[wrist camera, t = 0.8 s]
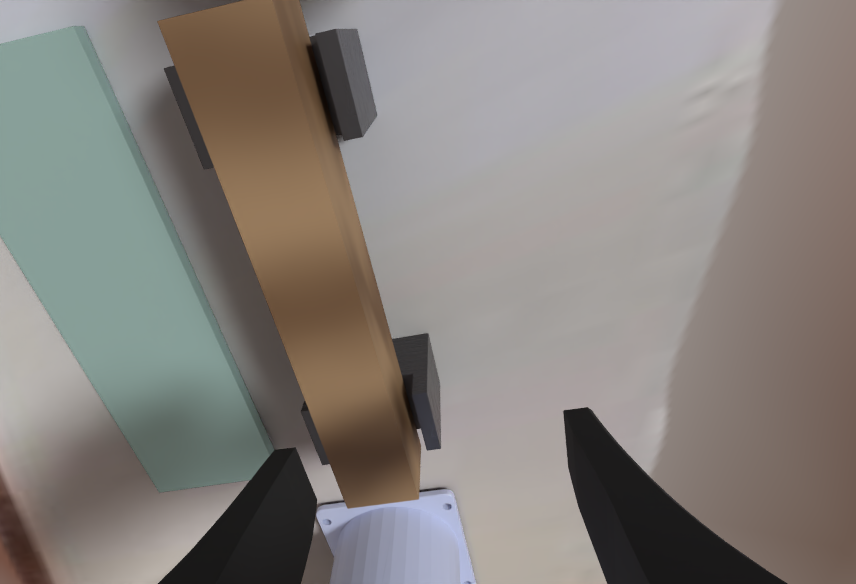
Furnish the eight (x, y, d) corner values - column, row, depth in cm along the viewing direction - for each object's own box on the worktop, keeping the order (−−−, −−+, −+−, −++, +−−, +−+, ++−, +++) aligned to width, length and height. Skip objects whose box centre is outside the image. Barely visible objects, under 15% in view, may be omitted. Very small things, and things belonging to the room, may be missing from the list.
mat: (282, 467, 28) (279, 475, 28) (164, 484, 29) (159, 492, 28) (83, 26, 18) (73, 26, 18) (-88, 67, 19) (-103, 69, 18)
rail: (420, 445, 23) (419, 499, 21) (357, 454, 24) (347, 508, 21) (299, -1, 15) (270, -6, 13) (204, 22, 16) (157, 21, 13)
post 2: (440, 383, 25) (440, 448, 21) (339, 399, 26) (322, 465, 22) (428, 333, 24) (426, 392, 20) (322, 350, 25) (300, 411, 21)
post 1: (377, 115, 20) (362, 136, 16) (249, 142, 20) (203, 169, 16) (357, 29, 18) (335, 28, 14) (220, 60, 19) (163, 68, 15)
